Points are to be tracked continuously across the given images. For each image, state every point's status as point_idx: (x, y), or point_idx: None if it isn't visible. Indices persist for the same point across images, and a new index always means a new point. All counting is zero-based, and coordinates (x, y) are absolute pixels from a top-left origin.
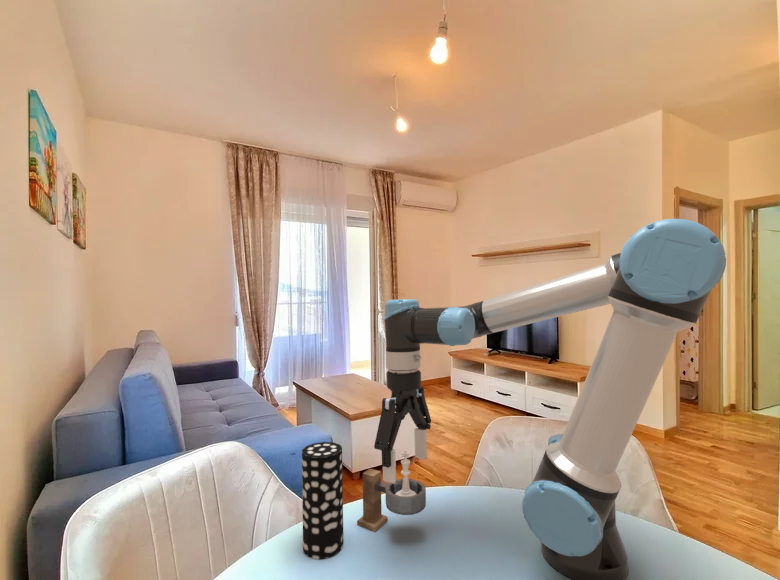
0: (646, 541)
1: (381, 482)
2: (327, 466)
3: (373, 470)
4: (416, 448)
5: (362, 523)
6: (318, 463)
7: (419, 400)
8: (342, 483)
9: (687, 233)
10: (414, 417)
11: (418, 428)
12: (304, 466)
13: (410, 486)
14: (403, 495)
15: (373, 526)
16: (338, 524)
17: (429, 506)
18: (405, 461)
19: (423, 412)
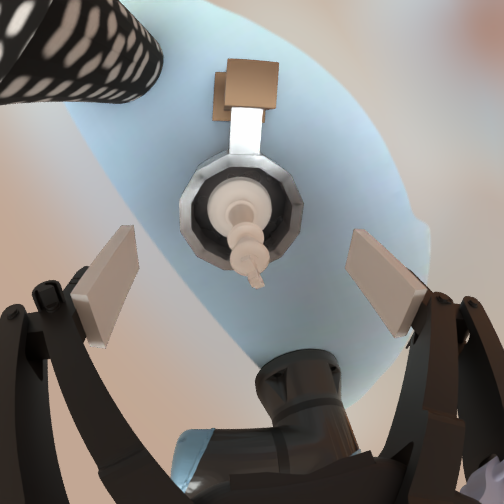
0: (341, 396)
1: (253, 120)
2: None
3: (268, 81)
4: (367, 251)
5: (214, 86)
6: None
7: (477, 444)
8: (87, 81)
9: None
10: (418, 370)
11: (421, 302)
12: None
13: (287, 201)
14: (223, 214)
15: (213, 115)
16: (101, 101)
17: (350, 180)
18: (239, 266)
19: (461, 377)
